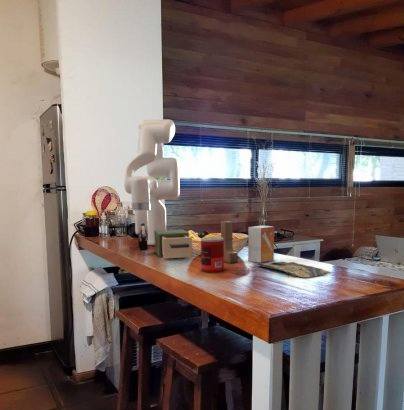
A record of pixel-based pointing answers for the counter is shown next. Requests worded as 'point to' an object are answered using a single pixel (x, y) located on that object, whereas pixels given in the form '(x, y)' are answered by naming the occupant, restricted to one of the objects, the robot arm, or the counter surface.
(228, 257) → the wooden block
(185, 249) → the drawer
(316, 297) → the counter surface
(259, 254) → the small box
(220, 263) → the canned food
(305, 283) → the counter surface
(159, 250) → the cabinet
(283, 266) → the aerial photo print
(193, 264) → the counter surface
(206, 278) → the counter surface
